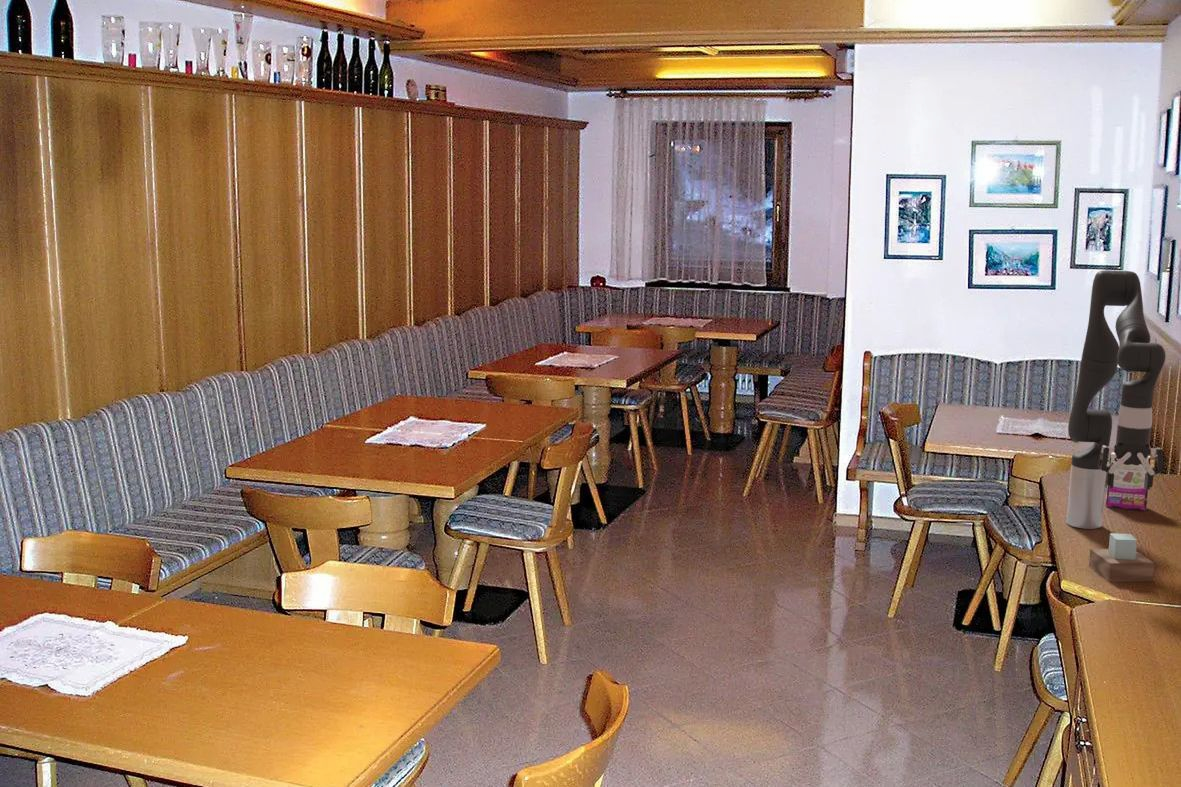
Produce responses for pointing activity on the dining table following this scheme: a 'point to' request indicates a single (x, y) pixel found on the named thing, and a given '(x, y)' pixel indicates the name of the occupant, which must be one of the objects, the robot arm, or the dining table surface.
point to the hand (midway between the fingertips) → (1128, 488)
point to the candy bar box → (1128, 487)
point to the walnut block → (1121, 566)
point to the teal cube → (1122, 546)
